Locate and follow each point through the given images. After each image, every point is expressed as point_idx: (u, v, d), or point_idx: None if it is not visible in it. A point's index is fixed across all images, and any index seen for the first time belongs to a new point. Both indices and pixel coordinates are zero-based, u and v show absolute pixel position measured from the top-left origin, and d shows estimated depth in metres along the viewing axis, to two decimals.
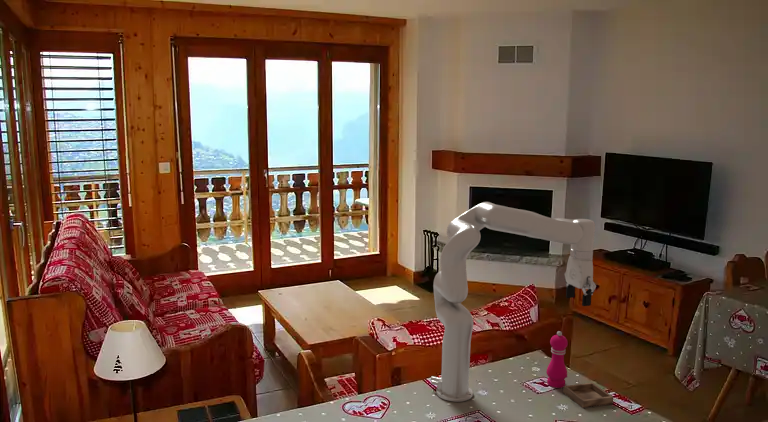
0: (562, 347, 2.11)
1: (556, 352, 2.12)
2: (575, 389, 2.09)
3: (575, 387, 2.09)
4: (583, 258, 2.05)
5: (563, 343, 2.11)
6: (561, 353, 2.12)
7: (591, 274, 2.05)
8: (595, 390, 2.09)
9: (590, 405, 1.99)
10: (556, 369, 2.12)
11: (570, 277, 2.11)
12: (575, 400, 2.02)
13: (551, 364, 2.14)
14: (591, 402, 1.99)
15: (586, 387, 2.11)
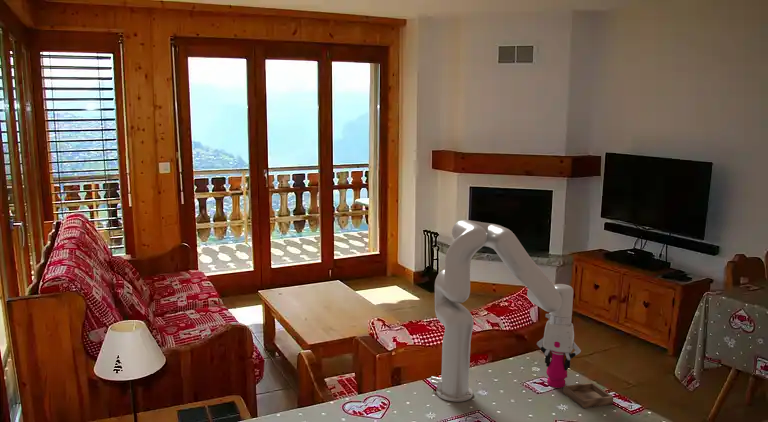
0: None
1: (556, 352, 2.12)
2: (575, 389, 2.09)
3: (575, 387, 2.09)
4: (569, 323, 2.10)
5: None
6: (561, 353, 2.12)
7: None
8: (595, 390, 2.09)
9: (590, 405, 1.99)
10: (556, 369, 2.12)
11: (553, 343, 2.12)
12: (575, 400, 2.02)
13: (551, 364, 2.14)
14: (591, 402, 1.99)
15: (586, 387, 2.11)
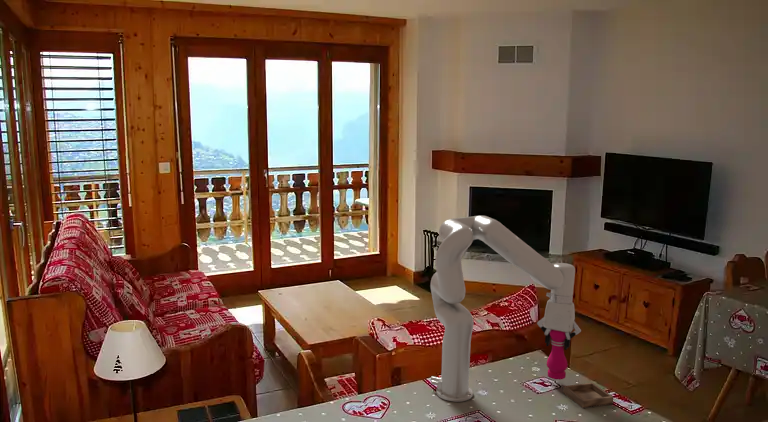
0: (562, 338, 2.11)
1: (556, 343, 2.12)
2: (575, 389, 2.09)
3: (575, 387, 2.09)
4: (570, 302, 2.08)
5: (563, 334, 2.10)
6: (561, 344, 2.11)
7: (574, 316, 2.11)
8: (595, 390, 2.09)
9: (590, 405, 1.99)
10: (556, 361, 2.12)
11: (553, 322, 2.11)
12: (575, 400, 2.02)
13: (551, 356, 2.14)
14: (591, 402, 1.99)
15: (586, 387, 2.11)
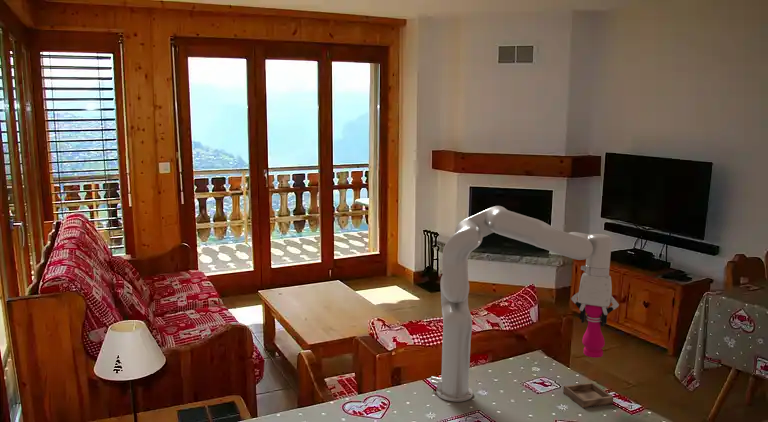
0: (598, 314, 1.98)
1: (592, 319, 1.99)
2: (575, 389, 2.09)
3: (575, 387, 2.09)
4: (607, 275, 1.96)
5: (599, 309, 1.98)
6: (598, 320, 1.99)
7: (611, 290, 1.98)
8: (595, 390, 2.09)
9: (590, 405, 1.99)
10: (593, 338, 1.99)
11: (589, 297, 1.98)
12: (575, 400, 2.02)
13: (587, 333, 2.01)
14: (591, 402, 1.99)
15: (586, 387, 2.11)
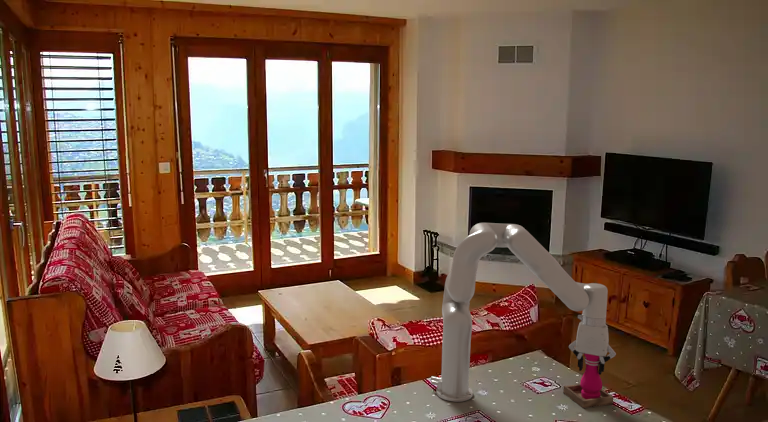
0: (597, 357, 2.00)
1: (590, 363, 2.01)
2: (575, 389, 2.09)
3: (575, 387, 2.09)
4: (603, 325, 1.98)
5: None
6: (596, 364, 2.01)
7: (608, 339, 2.01)
8: None
9: (590, 405, 1.99)
10: (590, 381, 2.02)
11: (586, 346, 2.01)
12: (575, 400, 2.02)
13: (585, 376, 2.03)
14: (591, 402, 1.99)
15: None
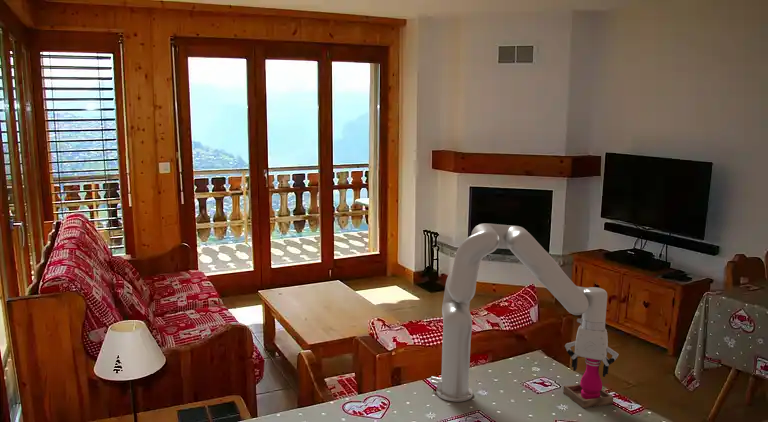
0: None
1: (591, 363, 2.01)
2: (575, 389, 2.09)
3: (575, 387, 2.09)
4: (603, 329, 1.99)
5: None
6: (596, 364, 2.01)
7: (607, 343, 2.01)
8: None
9: (590, 405, 1.99)
10: (591, 381, 2.02)
11: (585, 350, 2.01)
12: (575, 400, 2.02)
13: (585, 376, 2.03)
14: (591, 402, 1.99)
15: None
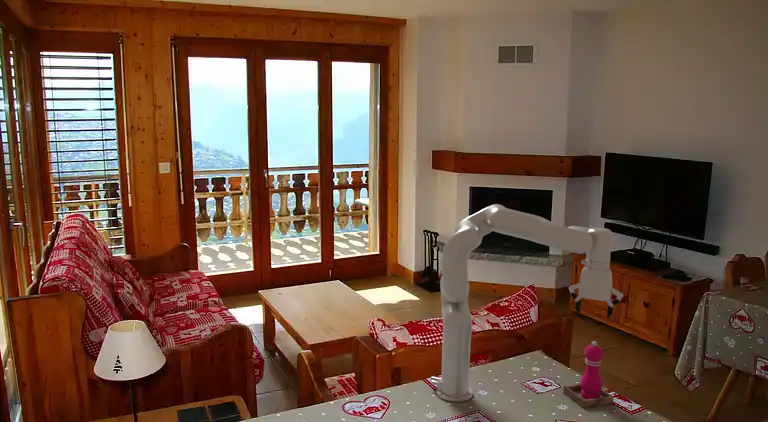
0: (598, 358, 2.00)
1: (591, 363, 2.01)
2: (575, 389, 2.09)
3: (575, 387, 2.09)
4: (607, 269, 1.95)
5: (599, 354, 2.00)
6: (596, 364, 2.01)
7: None
8: None
9: (590, 405, 1.99)
10: (591, 381, 2.02)
11: (589, 291, 1.98)
12: (575, 400, 2.02)
13: (585, 376, 2.03)
14: (591, 402, 1.99)
15: None
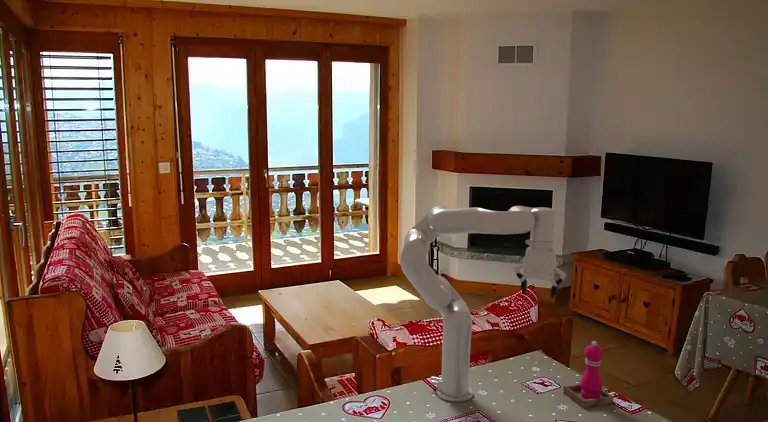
0: (597, 358, 2.00)
1: (591, 363, 2.01)
2: (575, 389, 2.09)
3: (575, 387, 2.09)
4: (550, 248, 1.95)
5: (599, 354, 2.00)
6: (596, 364, 2.01)
7: None
8: None
9: (590, 405, 1.99)
10: (591, 381, 2.02)
11: (533, 271, 1.98)
12: (575, 400, 2.02)
13: (585, 376, 2.03)
14: (591, 402, 1.99)
15: None
